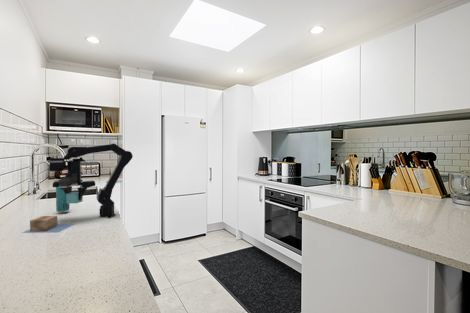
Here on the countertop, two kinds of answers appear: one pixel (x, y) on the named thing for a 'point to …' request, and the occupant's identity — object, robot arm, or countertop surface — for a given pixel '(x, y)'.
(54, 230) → the blue flat board
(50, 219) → the walnut base block
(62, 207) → the beverage bottle
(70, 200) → the teal cube
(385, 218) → the countertop surface
